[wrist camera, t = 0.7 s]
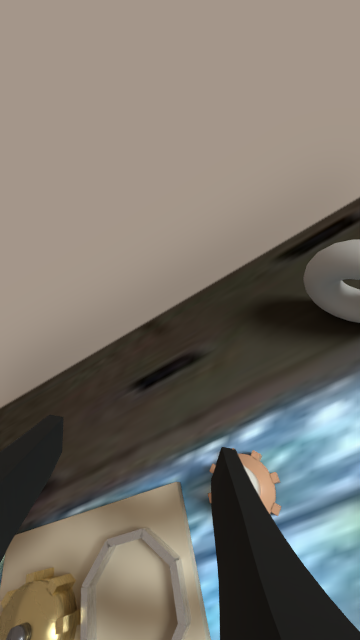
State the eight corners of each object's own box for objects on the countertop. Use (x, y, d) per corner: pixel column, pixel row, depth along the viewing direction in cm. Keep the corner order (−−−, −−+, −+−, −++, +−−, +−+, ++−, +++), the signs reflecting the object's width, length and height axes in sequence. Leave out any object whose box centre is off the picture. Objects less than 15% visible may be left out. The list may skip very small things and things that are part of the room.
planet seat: (201, 676, 18) (195, 685, 17) (90, 700, 19) (79, 710, 18) (174, 519, 23) (169, 519, 22) (89, 545, 24) (81, 547, 23)
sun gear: (82, 685, 19) (49, 712, 17) (3, 703, 20) (-40, 731, 18) (83, 558, 24) (57, 564, 21) (18, 577, 25) (-14, 586, 22)
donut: (298, 313, 31) (297, 250, 23) (309, 291, 32) (312, 224, 24) (404, 344, 25) (450, 272, 18) (414, 315, 26) (461, 237, 19)
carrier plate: (229, 734, 17) (225, 745, 16) (-18, 778, 19) (-31, 790, 18) (180, 482, 25) (176, 481, 25) (15, 536, 28) (7, 537, 27)
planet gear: (296, 521, 21) (295, 524, 17) (223, 542, 22) (207, 549, 18) (263, 440, 25) (257, 428, 21) (202, 461, 26) (186, 453, 22)
